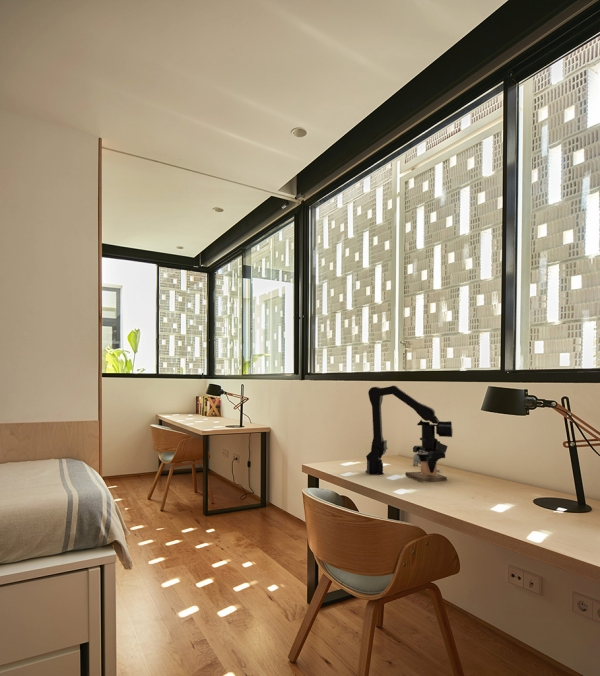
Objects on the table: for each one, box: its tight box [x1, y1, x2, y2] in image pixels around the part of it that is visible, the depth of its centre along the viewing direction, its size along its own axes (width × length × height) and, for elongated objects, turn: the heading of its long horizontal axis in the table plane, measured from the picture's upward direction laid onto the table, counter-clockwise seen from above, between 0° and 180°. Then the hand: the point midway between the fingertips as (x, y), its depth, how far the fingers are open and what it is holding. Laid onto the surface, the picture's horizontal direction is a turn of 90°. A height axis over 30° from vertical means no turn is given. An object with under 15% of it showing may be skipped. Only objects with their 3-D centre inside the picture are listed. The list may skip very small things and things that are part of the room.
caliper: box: [412, 453, 443, 473], centre depth 225 cm, size 20×1×6 cm, turn 24°
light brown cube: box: [420, 461, 438, 475], centre depth 204 cm, size 5×5×5 cm
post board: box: [405, 471, 448, 483], centre depth 203 cm, size 13×13×6 cm
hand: (428, 471), depth 204 cm, fingers closed on light brown cube, 5 cm apart
